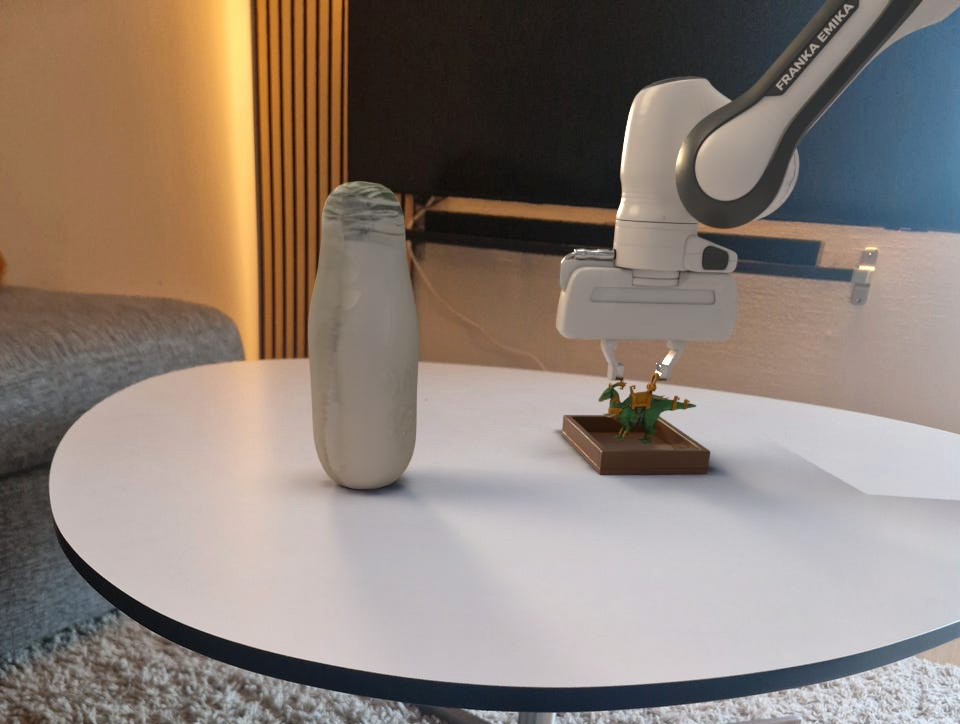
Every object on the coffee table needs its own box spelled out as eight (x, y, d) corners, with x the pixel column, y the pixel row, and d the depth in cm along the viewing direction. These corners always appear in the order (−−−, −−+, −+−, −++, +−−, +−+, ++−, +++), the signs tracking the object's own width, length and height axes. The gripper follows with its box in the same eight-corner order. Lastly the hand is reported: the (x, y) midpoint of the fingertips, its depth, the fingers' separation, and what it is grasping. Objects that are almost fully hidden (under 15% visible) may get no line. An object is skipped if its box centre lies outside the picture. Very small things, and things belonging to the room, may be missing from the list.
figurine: (589, 435, 110) (600, 364, 107) (684, 443, 113) (697, 374, 109) (596, 440, 108) (607, 368, 105) (693, 448, 110) (707, 377, 107)
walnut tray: (707, 473, 104) (710, 451, 103) (599, 474, 102) (601, 451, 101) (656, 435, 120) (658, 415, 119) (561, 435, 118) (563, 414, 117)
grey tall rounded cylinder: (393, 506, 89) (393, 182, 77) (298, 492, 92) (283, 177, 80) (430, 479, 98) (435, 184, 85) (341, 467, 100) (334, 180, 88)
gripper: (568, 249, 97) (558, 384, 103) (752, 255, 100) (731, 386, 106) (554, 245, 102) (545, 374, 108) (729, 251, 105) (711, 375, 112)
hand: (639, 380), depth 107 cm, fingers closed on figurine, 4 cm apart
